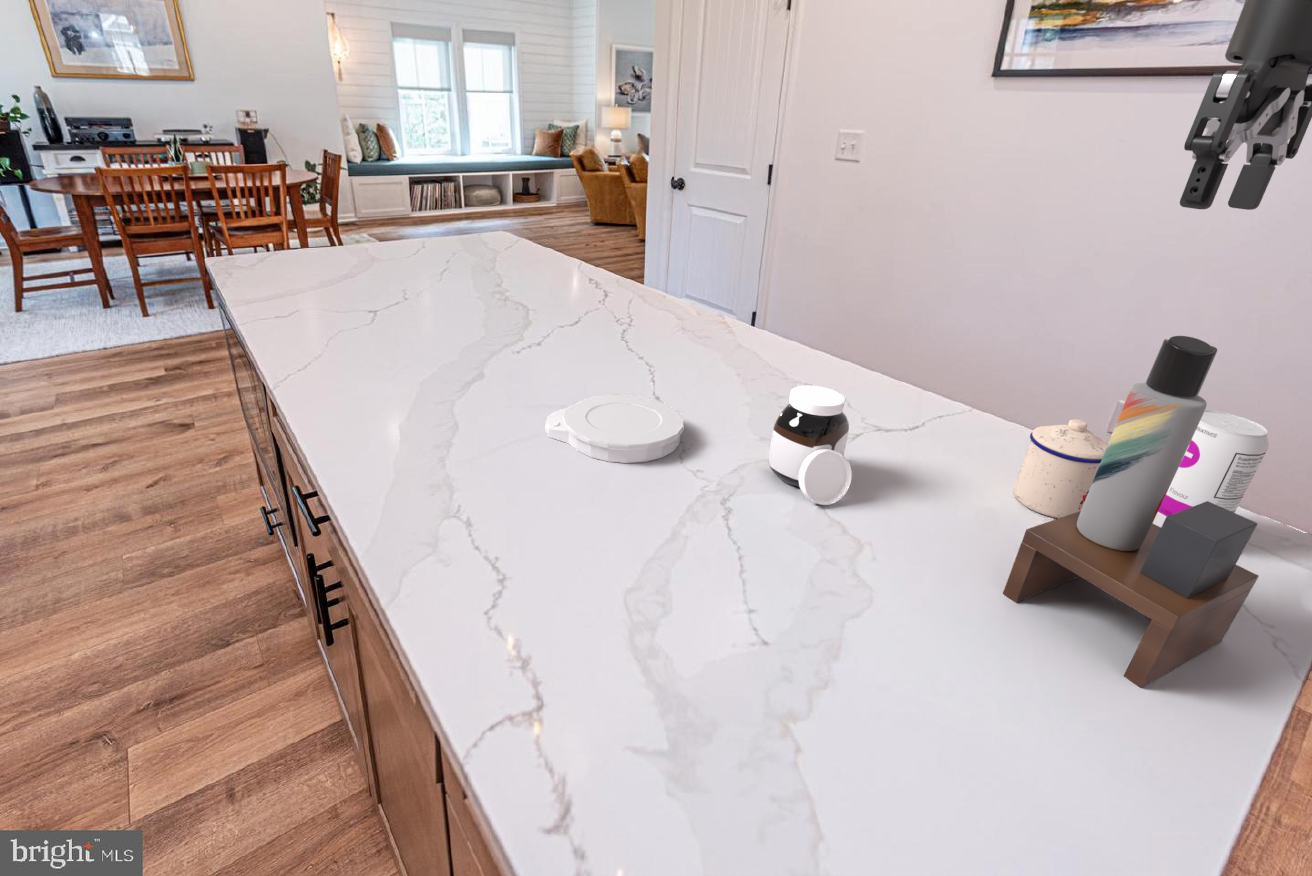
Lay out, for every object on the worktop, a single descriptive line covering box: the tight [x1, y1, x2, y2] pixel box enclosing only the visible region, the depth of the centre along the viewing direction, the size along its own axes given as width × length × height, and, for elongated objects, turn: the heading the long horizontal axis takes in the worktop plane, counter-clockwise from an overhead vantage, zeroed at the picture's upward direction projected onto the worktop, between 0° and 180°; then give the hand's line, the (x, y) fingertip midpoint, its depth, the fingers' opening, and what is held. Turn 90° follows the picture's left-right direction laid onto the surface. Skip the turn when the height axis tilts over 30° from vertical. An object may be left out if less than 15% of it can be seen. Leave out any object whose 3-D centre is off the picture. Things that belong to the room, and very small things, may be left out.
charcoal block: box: [1141, 501, 1258, 598], centre depth 60 cm, size 7×4×6 cm, turn 118°
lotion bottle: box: [1077, 335, 1218, 551], centre depth 62 cm, size 6×6×20 cm
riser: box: [1002, 511, 1260, 689], centre depth 66 cm, size 14×14×8 cm
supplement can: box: [1153, 409, 1270, 527], centre depth 81 cm, size 8×8×15 cm
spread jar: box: [768, 384, 853, 506], centre depth 86 cm, size 12×11×12 cm
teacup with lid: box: [1013, 418, 1108, 519], centre depth 87 cm, size 12×9×12 cm
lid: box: [544, 393, 685, 464], centre depth 97 cm, size 17×20×3 cm
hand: (1218, 208), depth 61 cm, fingers open, 8 cm apart
